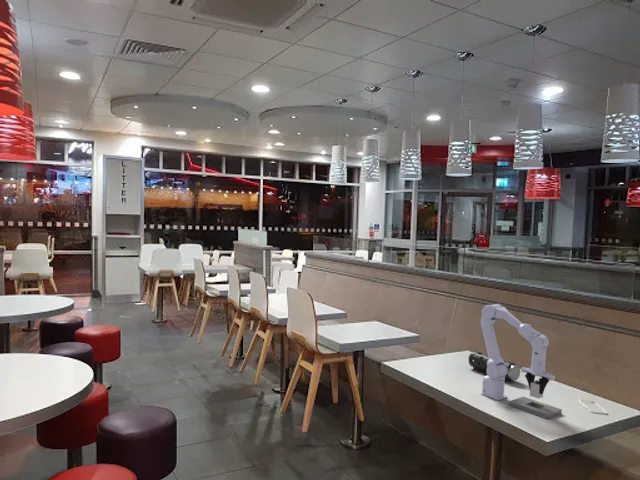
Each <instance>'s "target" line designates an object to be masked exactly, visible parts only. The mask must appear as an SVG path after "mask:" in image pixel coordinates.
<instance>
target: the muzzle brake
mask: <svg viewBox="0 0 640 480" xmlns="http://www.w3.org/2000/svg"><path fill="white" fill-rule="evenodd" d="M488 359H489V357H488V354H485V353H483V352H478V350H477V351H475V350H474V351H472V352H471V353H470V354H469V356H468V364H469V366H470V367H472V368H473V369H475V370H477V371H479V370H480V372H482V371H483V373H485V374H487V362H488ZM504 363H505V365H506V366H507V368H508V373H507V375H505V379H506V380H507V381H511V382H512V381H513V382H516V381H517V380H519V378H520V375H521V367H520V366H519V365H517V364H516V363H514V362H512V361H508V360H507V361H506V360H504ZM506 380H505V381H506Z"/></svg>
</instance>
